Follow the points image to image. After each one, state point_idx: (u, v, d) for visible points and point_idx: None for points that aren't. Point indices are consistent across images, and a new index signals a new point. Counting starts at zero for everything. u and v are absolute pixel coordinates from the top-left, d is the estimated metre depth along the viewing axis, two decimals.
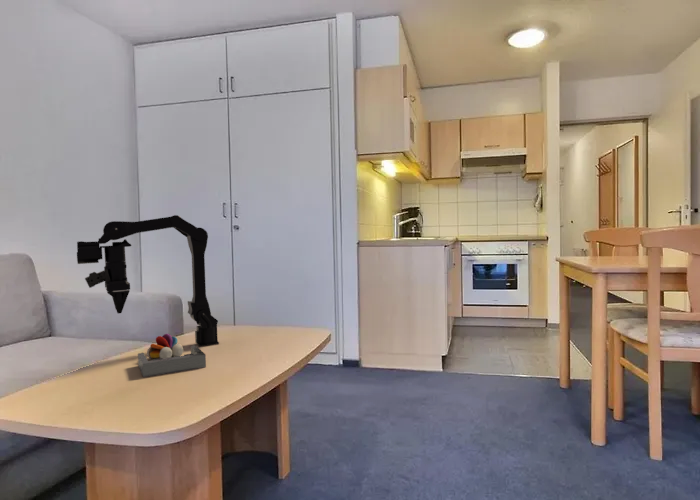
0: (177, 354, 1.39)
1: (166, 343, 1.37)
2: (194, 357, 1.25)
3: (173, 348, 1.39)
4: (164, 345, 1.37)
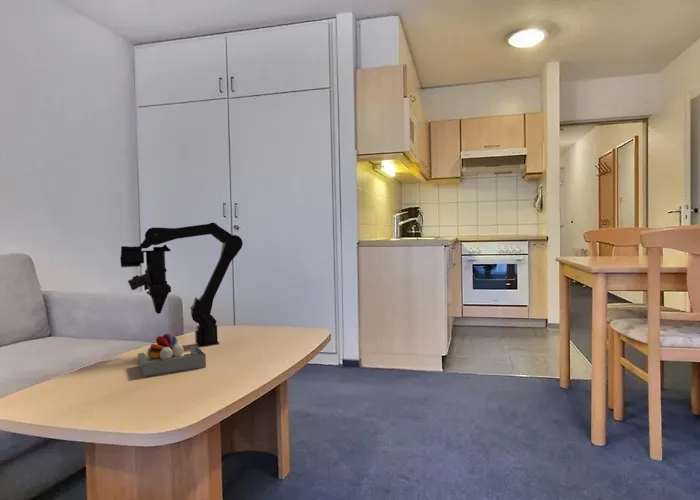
0: (177, 354, 1.39)
1: (166, 343, 1.37)
2: (194, 357, 1.25)
3: (173, 348, 1.39)
4: (165, 345, 1.37)
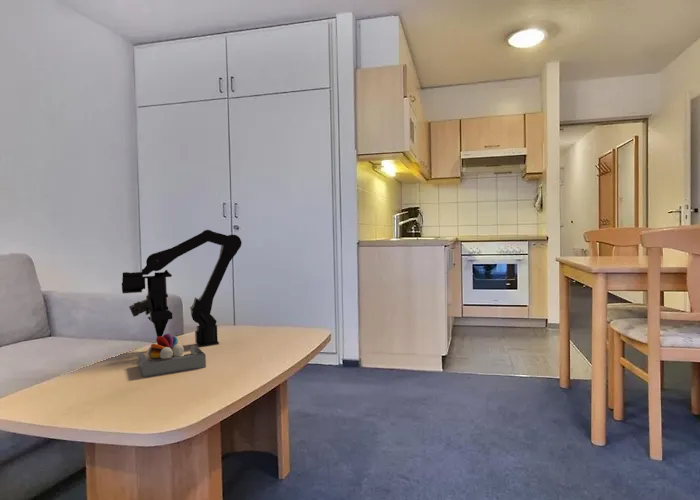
0: (178, 354, 1.39)
1: (167, 343, 1.37)
2: (194, 357, 1.25)
3: (174, 348, 1.39)
4: (165, 345, 1.37)
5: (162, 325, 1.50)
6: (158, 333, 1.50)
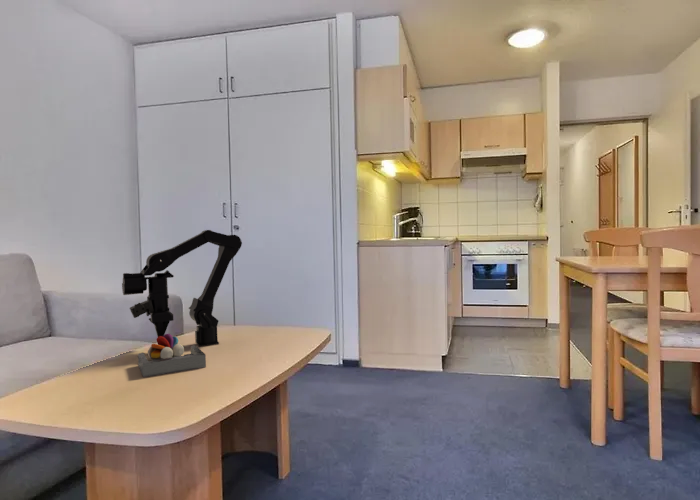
0: (178, 354, 1.39)
1: (167, 343, 1.37)
2: (194, 357, 1.25)
3: (174, 348, 1.39)
4: (165, 345, 1.37)
5: (163, 327, 1.47)
6: (159, 335, 1.47)
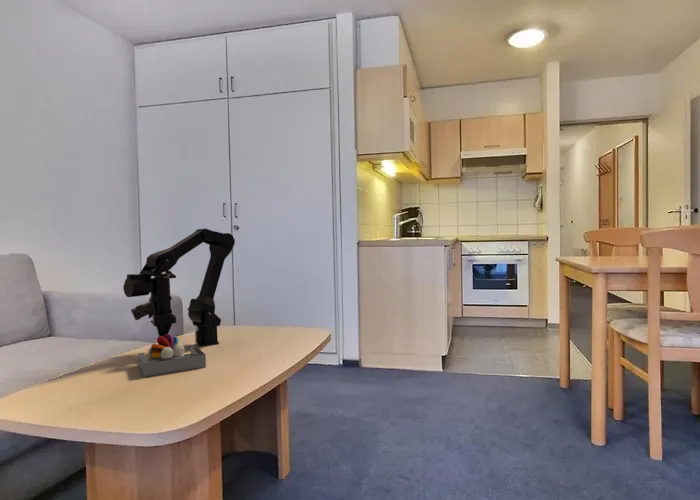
0: (178, 354, 1.39)
1: (167, 343, 1.37)
2: (194, 357, 1.25)
3: (174, 348, 1.39)
4: (166, 345, 1.37)
5: (165, 329, 1.42)
6: None
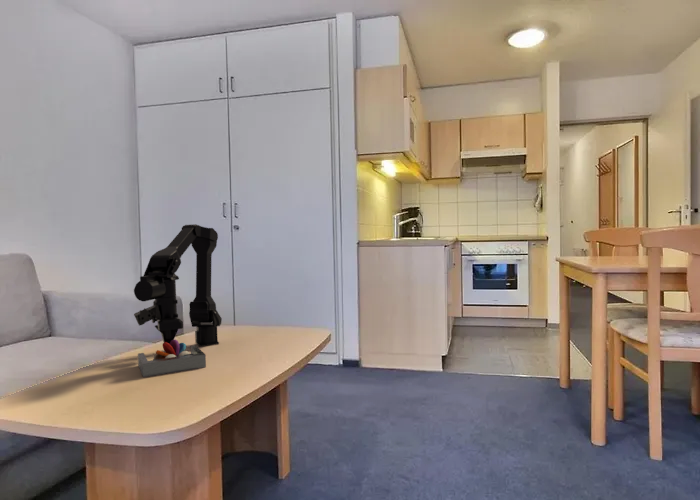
0: None
1: (172, 350, 1.28)
2: (194, 357, 1.25)
3: (179, 355, 1.29)
4: (170, 352, 1.28)
5: (171, 335, 1.33)
6: None
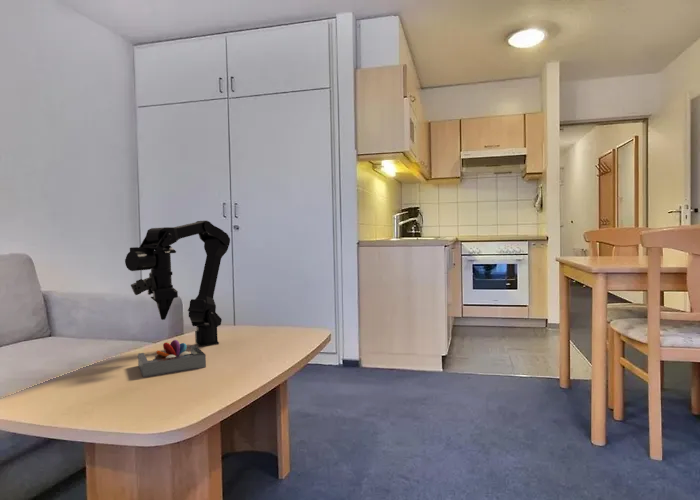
0: None
1: (172, 350, 1.27)
2: (194, 357, 1.25)
3: None
4: (171, 352, 1.28)
5: (166, 305, 1.39)
6: (162, 314, 1.39)
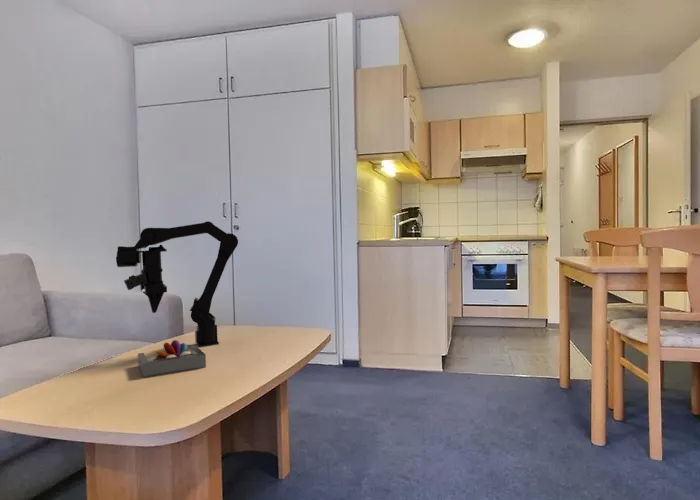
0: None
1: (172, 350, 1.27)
2: (194, 357, 1.25)
3: None
4: (171, 352, 1.28)
5: (157, 299, 1.51)
6: (153, 307, 1.51)
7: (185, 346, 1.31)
